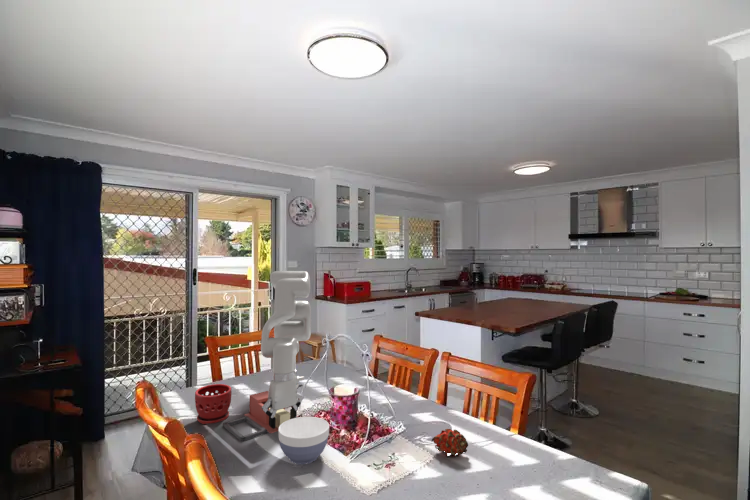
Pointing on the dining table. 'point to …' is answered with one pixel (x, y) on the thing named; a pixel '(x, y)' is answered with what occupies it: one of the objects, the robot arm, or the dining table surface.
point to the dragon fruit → (451, 442)
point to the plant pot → (213, 403)
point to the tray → (240, 436)
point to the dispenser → (260, 410)
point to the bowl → (303, 438)
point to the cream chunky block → (281, 417)
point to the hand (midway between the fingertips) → (282, 423)
